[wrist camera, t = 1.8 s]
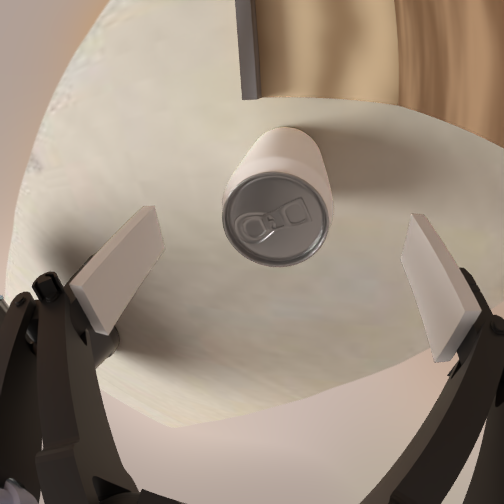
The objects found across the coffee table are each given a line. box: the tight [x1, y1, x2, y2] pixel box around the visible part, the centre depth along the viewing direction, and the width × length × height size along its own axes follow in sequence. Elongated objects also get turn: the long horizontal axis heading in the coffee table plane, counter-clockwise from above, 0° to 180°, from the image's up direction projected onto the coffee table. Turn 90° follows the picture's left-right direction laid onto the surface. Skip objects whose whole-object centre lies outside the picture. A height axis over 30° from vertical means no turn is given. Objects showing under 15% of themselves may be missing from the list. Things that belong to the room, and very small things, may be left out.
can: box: [222, 127, 334, 267], centre depth 20 cm, size 6×6×12 cm
